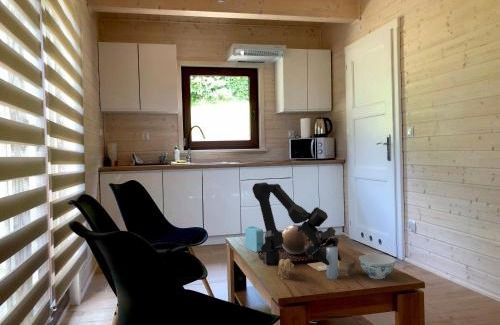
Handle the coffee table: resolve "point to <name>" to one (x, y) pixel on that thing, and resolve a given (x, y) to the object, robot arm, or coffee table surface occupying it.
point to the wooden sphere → (294, 240)
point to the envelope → (320, 266)
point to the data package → (254, 238)
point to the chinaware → (377, 265)
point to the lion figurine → (285, 267)
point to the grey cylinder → (332, 262)
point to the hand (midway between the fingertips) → (334, 262)
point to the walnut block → (347, 267)
